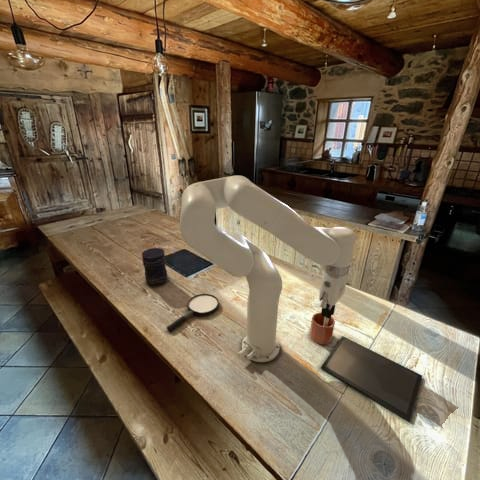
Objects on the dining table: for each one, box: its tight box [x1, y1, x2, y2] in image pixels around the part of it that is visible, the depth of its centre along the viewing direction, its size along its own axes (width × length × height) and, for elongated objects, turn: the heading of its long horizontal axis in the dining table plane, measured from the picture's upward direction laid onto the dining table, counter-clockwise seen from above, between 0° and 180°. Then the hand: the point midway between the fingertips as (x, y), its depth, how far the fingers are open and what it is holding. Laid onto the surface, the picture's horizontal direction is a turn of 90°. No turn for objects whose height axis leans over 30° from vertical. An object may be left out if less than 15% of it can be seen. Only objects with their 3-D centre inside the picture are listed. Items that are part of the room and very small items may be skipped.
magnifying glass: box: [166, 293, 220, 333], centre depth 104 cm, size 12×24×2 cm, turn 143°
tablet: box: [320, 335, 423, 422], centre depth 80 cm, size 17×24×1 cm
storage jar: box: [141, 247, 168, 288], centre depth 122 cm, size 10×10×15 cm
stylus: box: [323, 302, 329, 327], centre depth 89 cm, size 1×1×13 cm
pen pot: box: [309, 312, 336, 345], centre depth 92 cm, size 7×8×8 cm
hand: (327, 314), depth 89 cm, fingers closed
